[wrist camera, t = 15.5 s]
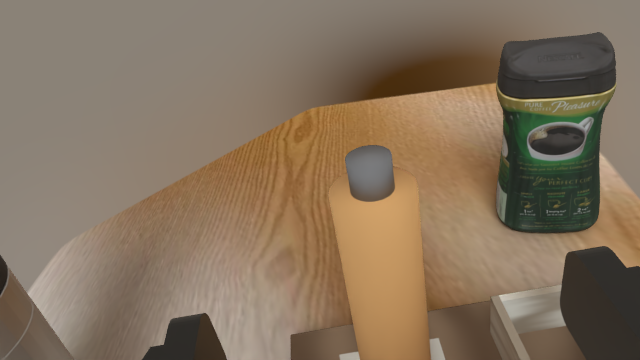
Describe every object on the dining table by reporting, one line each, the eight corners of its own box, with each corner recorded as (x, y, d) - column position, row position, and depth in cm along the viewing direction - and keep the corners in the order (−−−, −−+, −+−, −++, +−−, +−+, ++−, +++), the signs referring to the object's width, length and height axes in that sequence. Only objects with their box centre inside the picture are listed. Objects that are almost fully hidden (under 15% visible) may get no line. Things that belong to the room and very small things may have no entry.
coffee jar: (586, 189, 54) (609, 18, 44) (604, 237, 48) (635, 50, 38) (492, 191, 57) (494, 30, 47) (497, 237, 50) (500, 62, 40)
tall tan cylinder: (354, 384, 38) (306, 156, 27) (406, 353, 39) (380, 125, 28) (391, 436, 34) (352, 194, 23) (447, 400, 35) (435, 157, 25)
